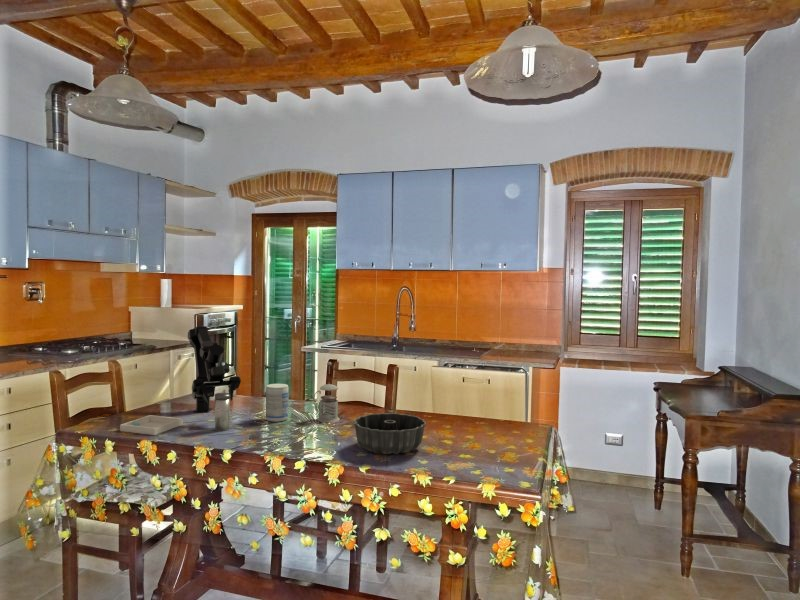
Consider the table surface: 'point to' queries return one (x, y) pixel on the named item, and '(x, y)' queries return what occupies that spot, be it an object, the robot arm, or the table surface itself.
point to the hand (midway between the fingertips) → (220, 401)
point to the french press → (328, 415)
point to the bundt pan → (389, 432)
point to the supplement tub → (276, 402)
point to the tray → (152, 425)
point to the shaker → (222, 411)
